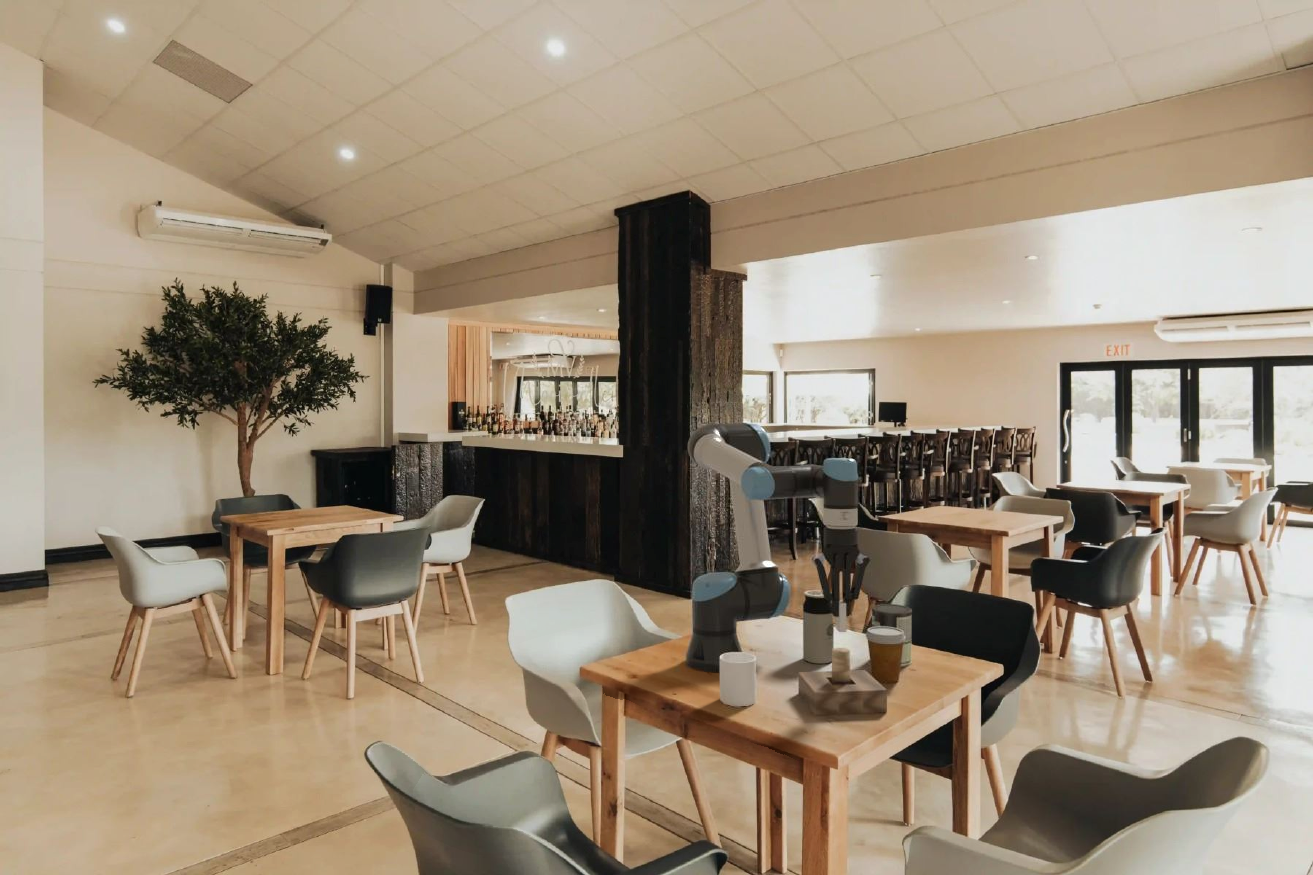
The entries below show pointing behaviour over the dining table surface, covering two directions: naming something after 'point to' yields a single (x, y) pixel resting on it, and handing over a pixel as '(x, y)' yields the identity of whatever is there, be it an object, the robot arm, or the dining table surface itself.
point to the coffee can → (895, 624)
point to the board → (842, 693)
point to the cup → (738, 678)
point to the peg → (840, 666)
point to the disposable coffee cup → (885, 652)
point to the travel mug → (817, 628)
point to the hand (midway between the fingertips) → (841, 630)
